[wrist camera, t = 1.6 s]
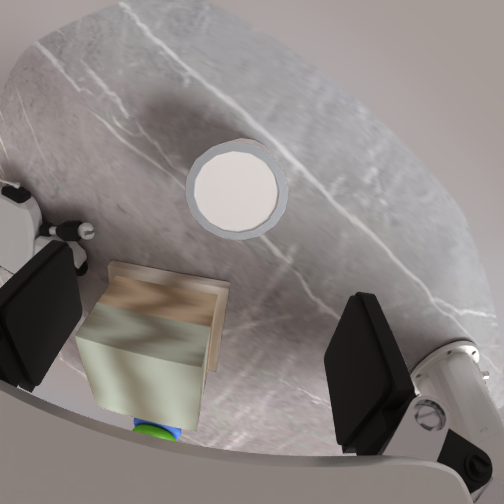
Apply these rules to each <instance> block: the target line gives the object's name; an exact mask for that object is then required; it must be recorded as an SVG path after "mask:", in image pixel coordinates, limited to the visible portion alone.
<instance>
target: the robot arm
mask: <svg viewBox="0 0 504 504" xmlns="http://www.w3.org/2000/svg"><path fill="white" fill-rule="evenodd" d="M81 316H82V305H81V300H80V294H79V289H78V283H77V277H76V270H75V263H74V256H73V250H72V248H71V247H69V244H68V243H67V242H63V241H58V240H52V241H50V242H49V243H48V244H47V245H46V246H45V247H43V248H42V249H41V250H40V251H39V252H38V253H37V254H36V255H34V256H33V257H32V258H31V259H30V260H29V261H28V262H27V263H26V264H25V265H24V266H23V267H22V268H20V269H19V270H18V271H17V272H16V273H15V274H14V275H13V276H12V277H11V278H10V279H9V280H8V281H7V282H6V283H5V284H4V285H3V286H2V287H1V288H0V504H504V421H503V419H502V417H501V414H500V412H499V410H498V408H497V406H496V404H495V402H494V400H493V398H492V396H491V394H490V392H489V390H488V388H487V386H486V382H485V379H488V377H489V372H488V371H483V372H481V371H480V369H479V367H478V365H477V363H478V360H479V351H478V349H477V347H476V346H475V344H473V343H472V342H469V341H457V342H453V343H450V344H447V345H445V346H443V347H441V348H439V349H437V350H436V351H434V352H433V353H431V354H430V355H428V356H427V357H426V358H425V359H423V360H422V361H421V362H420V363H419V364H418V365H417V366H416V368H415V369H414V370H413V372H412V373H411V375H409V372H408V369H407V367H406V365H405V362H404V360H403V357H402V355H401V352H400V350H399V348H398V345H397V343H396V340H395V338H394V336H393V334H392V331H391V329H390V327H389V324H388V322H387V320H386V318H385V316H384V313H383V311H382V309H381V307H380V305H379V302H378V300H377V298H376V296H375V295H374V294H370V293H363V292H357V293H356V294H355V296H350V298H349V300H348V302H347V305H346V307H345V309H344V312H343V314H342V316H341V319H340V321H339V323H338V326H337V328H336V330H335V333H334V335H333V337H332V339H331V341H330V344H329V346H328V348H327V350H326V352H325V356H324V365H325V370H326V376H327V382H328V388H329V394H330V400H331V407H332V413H333V420H334V426H335V433H336V440H337V443H338V445H342V451H343V454H344V453H356V454H357V456H289V455H271V454H258V453H247V452H238V451H230V450H223V449H216V448H209V447H203V446H197V445H191V444H186V443H181V442H176V441H171V440H167V439H162V438H158V437H154V436H149V435H145V434H142V433H138V432H134V431H130V430H126V429H123V428H120V427H116V426H113V425H110V424H107V423H104V422H100V421H97V420H94V419H91V418H89V417H86V416H83V415H80V414H77V413H75V412H72V411H69V410H67V409H64V408H62V407H59V406H57V405H54V404H51V403H49V402H47V401H44V400H42V399H40V398H38V397H35V396H33V395H31V394H29V393H27V392H25V391H22V390H21V389H18V388H16V387H17V386H18V385H19V386H20V387H21V388H23V389H25V390H27V391H29V392H31V393H32V391H33V389H34V388H35V386H38V385H40V383H41V382H42V380H43V378H44V376H45V375H46V373H47V371H48V370H49V368H50V366H51V364H52V363H53V361H54V360H55V358H56V356H57V355H58V353H59V351H60V350H61V348H62V347H63V345H64V343H65V342H66V340H67V339H68V337H69V336H70V334H71V332H72V331H73V329H74V328H75V326H76V325H77V323H78V322H79V320H80V319H81Z"/></svg>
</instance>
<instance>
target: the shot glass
mask: <svg viewBox="0 0 504 504" xmlns="http://www.w3.org/2000/svg"><path fill="white" fill-rule="evenodd" d="M288 195H289V188H288V184H287V180H286V175H285V172H284V170H283V169H282V167H281V166H280V165H279V163H278V162H277V161H276V159H275V158H274V157H273V155H272V154H271V153H270V151H269V150H268V149H267V148H266V146H264V145H262V144H261V143H259V142H257V141H256V140H252V139H245V138H239V139H235V140H231V141H228V142H225V143H222V144H219V145H216V146H213V147H211V148H210V149H208V150H207V151H206V152H205V153H203V154H202V155H201V156H200V157H198V158H197V159H196V160H195V162H194V164H193V166H192V168H191V169H190V171H189V173H188V175H187V178H186V191H185V197H186V200H187V203H188V206H189V209H190V212H191V214H192V215H193V217H194V218H195V219H196V220H197V221H198V222H199V224H200V225H201V226H202V227H203V228H204V229H205V230H207V231H209V232H211V233H213V234H215V235H216V236H218V237H220V238H225V239H232V240H239V241H240V240H245V239H250V238H254V237H259V236H260V235H262V234H263V233H265V232H266V231H268V230H269V229H271V228H273V227H274V226H275V225H276V223H277V222H278V220H279V219H280V218H281V216H282V215H283V213H284V212H285V210H286V205H287V200H288Z"/></svg>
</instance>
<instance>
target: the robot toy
mask: <svg viewBox="0 0 504 504" xmlns="http://www.w3.org/2000/svg"><path fill="white" fill-rule="evenodd" d="M0 182H3V183H7V185H5V186H3V187H1V188H0V268H1V269H4V270H7V271H8V272H10V273H12V274H13V275H14V274H15V273H16V272H17V271H18V270H19V269H20V268H22V267H23V266H24V265H25V264H26V263H27V262H28V261H29V260H30V259H31V258H32V257H33V256H34V255H36V254H37V253H38V252H39V251H40V250H41V249H42V248H43V247H45V246H46V245H47V244H48V243H49V242H50V241H52V240H58V241H63V242H67V243H68V244H69V247H71V248H72V250H73V256H74V263H75V270H76V277H77V278H78V276H83V275H84V274H86V272H87V270H88V265H87V262H86V261H85V260H86V258H87V256H86V252H85V250H84V249H83V248H81V247H80V246H79V245H78V244H77V241H79V240H81V238H83V239H85V240H88V239H93V237H94V232H89V231H92V230H93V229H94V228H93V226H92V224H89V223H83V224H82V222H81V221H66V222H64V223H62V224H61V225H59V226H58V227H53V225H52V223H44V224H42V216H41V211H40V208H39V206H38V203H37V201H36V200H35V198H34V197H33V196H31V194H30V192H29V191H27V190H26V189H25V188H24V187H22V186H20V184H21V183H18V182H15V183H13V182H10V181H7V180H4V179H0Z"/></svg>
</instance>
